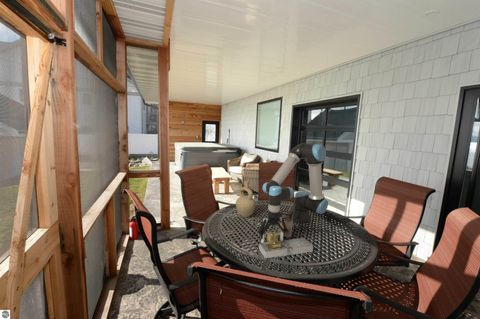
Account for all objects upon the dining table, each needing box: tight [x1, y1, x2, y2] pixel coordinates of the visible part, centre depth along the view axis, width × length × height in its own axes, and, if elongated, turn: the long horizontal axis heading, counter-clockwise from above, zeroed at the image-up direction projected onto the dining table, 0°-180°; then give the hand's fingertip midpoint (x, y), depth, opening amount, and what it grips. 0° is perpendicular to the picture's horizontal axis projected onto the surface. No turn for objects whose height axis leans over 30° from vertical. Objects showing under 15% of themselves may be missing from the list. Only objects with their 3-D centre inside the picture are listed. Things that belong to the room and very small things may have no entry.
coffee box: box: [277, 209, 294, 238], centre depth 158 cm, size 9×6×16 cm
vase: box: [235, 180, 257, 218], centre depth 189 cm, size 17×17×30 cm
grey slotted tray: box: [258, 237, 314, 259], centre depth 137 cm, size 31×10×4 cm, turn 107°
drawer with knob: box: [269, 240, 281, 249], centre depth 135 cm, size 5×5×6 cm
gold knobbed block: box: [266, 231, 279, 242], centre depth 146 cm, size 5×5×6 cm
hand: (272, 242), depth 147 cm, fingers open, 12 cm apart
